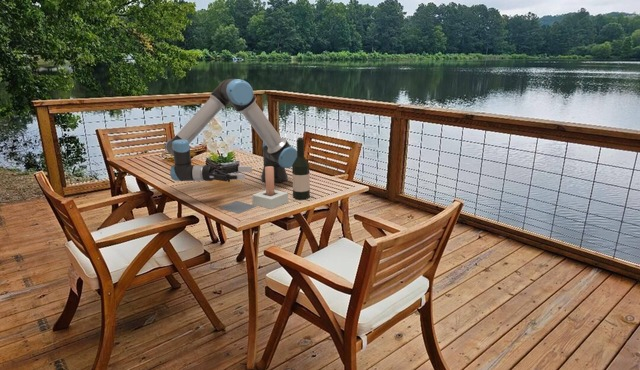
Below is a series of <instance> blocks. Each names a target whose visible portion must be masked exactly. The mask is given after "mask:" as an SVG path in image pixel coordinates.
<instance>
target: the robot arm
mask: <svg viewBox="0 0 640 370" xmlns="http://www.w3.org/2000/svg"><path fill="white" fill-rule="evenodd" d="M256 101H257V97H256V96H255V94H254V90H253V86H251V84H250V83H249V82H248V81H246V80H244V79H238V78H227V79H224V80H222V82H220V83H219V84H218V86H216V88H215V89H214V90H212V92H211V93H210V94H209V99H208V100H207V101H206V102H205V103H204V104H203V105H202V106H201V107H200V108H199V110H198V111H196V113H195V114H194V115H193V116H192V117H191V118H190V120H188V121H187V123H186V124H185V125H184V126H183V127H182V128H181V129H180V131H178V133H177V134H176V135H175V136H174V137H173V138H171V139H168V140H167V142H166V143H165V149H166V151H167V153H168V154H170V155H171V156H172V157H173V160H174V161H173V162H174V165H171V166H170V172H169V176H170V178H171V180H173V181H179V182H193V181H194V182H195V181H196V182H198V183H200V182H202V181H203V182H204V181H205V182H212V181H213V180H216V181H219V182H220V181H222V182H227V183H230V182H231V181H245V180H246V175H245V173H252V172H253V169H252V167H253V166H252V165H250V166H249V165H248V166H247V165H246V166H244V165H240V166H239V164H234V165H227V166H217V168H214V166H213V165H212V164H205V165H203V164H192V161H191V160H192V158H191V147H190V144H191V143H192V142H193V141H194V140H195V139H196V137H198V136H199V134H200V133H201V132H202V131H203V130H204V129H205V128H206V127H207V125H208V124H209V123H210V122H211V121H212V120H213V119H214V118H215V116H216V115H218V113H219V112H220V111H221V110H222V109H226V108H227V107H228V105H231V106H232V107H233V109H234V110H235V111H236V112H237V113H240V114H242V115H243V116H244V118H245V119H246V120H247V122H248V123H249V124H250V125H251V127H252V128H253V130H254V131H255V132H256V134H257V135H258V136H259V138H260V139H261V140H262V160H263V168H262V172H261V175H260V180H261V181H262V182H263V183H266V180H265V167H267V166H273V167H274V184H279V183H284V182H286V181H288V174H287V170H286V169H292V165H293V163H294V161H295V160H296V158H297V148H295V147H294V146H292V145H291V144H290V143H289V142H288V140H287V139H286V138H283V137H281V135H280V134H279V133H278V132H277V130H276V129H275V127H274V126H273V124H272V123H271V122H270V120H269V119H268V118H267V117H266V115H265V113H264V111H262V109H261V108H260V107H259V105H258V103H256ZM237 172H238V173H237Z"/></svg>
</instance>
